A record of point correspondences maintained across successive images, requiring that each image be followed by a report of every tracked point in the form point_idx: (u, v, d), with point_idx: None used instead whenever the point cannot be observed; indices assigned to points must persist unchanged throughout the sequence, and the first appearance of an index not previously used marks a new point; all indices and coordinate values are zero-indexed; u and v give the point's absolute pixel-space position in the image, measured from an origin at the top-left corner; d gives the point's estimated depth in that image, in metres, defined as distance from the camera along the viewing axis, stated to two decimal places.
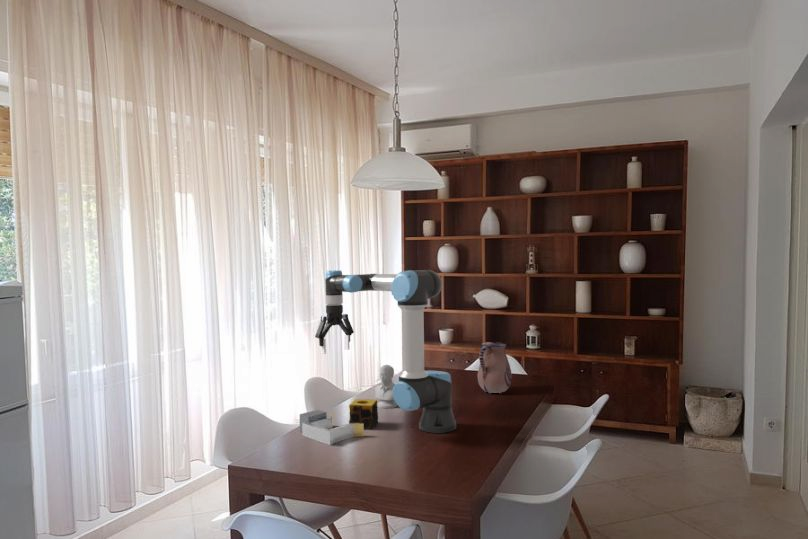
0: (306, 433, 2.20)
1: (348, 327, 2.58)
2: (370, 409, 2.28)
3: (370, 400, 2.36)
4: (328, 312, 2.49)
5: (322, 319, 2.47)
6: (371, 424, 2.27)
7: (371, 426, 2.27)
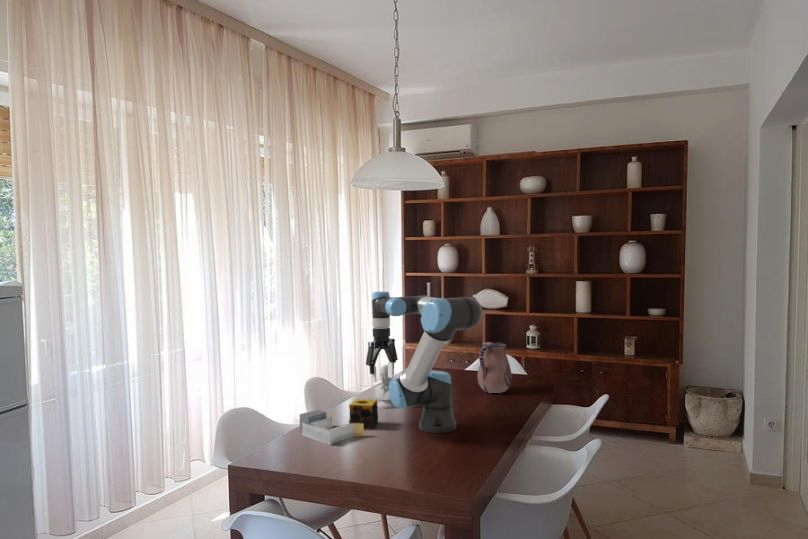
0: (306, 433, 2.20)
1: (393, 353, 2.45)
2: (370, 409, 2.28)
3: (370, 400, 2.36)
4: (375, 336, 2.37)
5: (370, 345, 2.35)
6: (371, 424, 2.27)
7: (371, 426, 2.27)
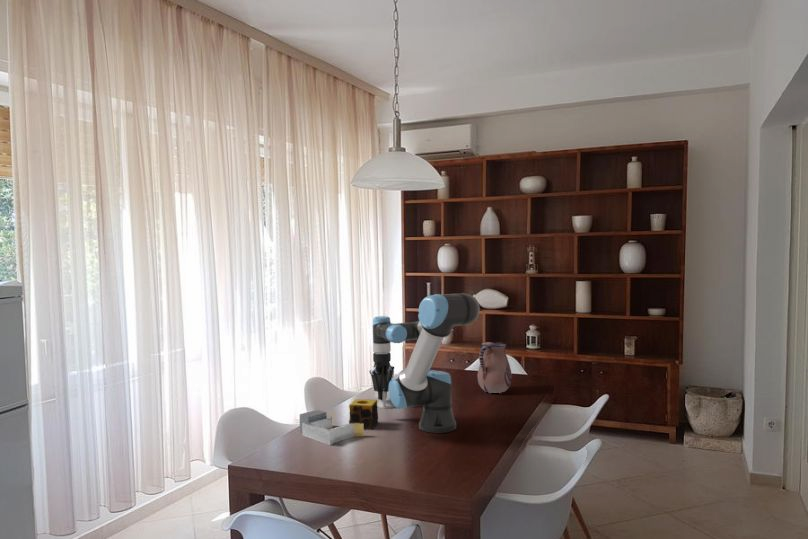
0: (306, 433, 2.20)
1: (387, 381, 2.43)
2: (370, 409, 2.28)
3: (370, 400, 2.36)
4: (376, 361, 2.38)
5: (372, 374, 2.36)
6: (371, 424, 2.27)
7: (371, 426, 2.27)
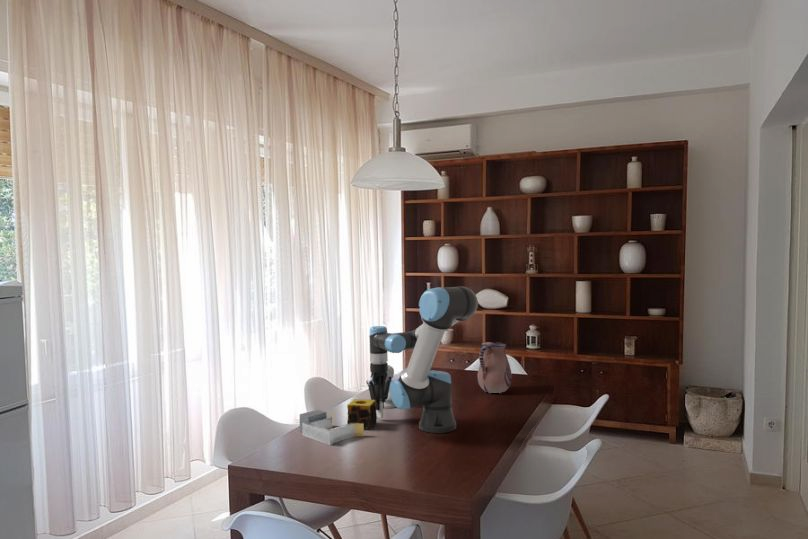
0: (306, 433, 2.20)
1: (385, 391, 2.42)
2: (368, 409, 2.27)
3: (369, 400, 2.35)
4: (373, 371, 2.36)
5: (369, 384, 2.35)
6: (369, 424, 2.27)
7: (369, 426, 2.27)
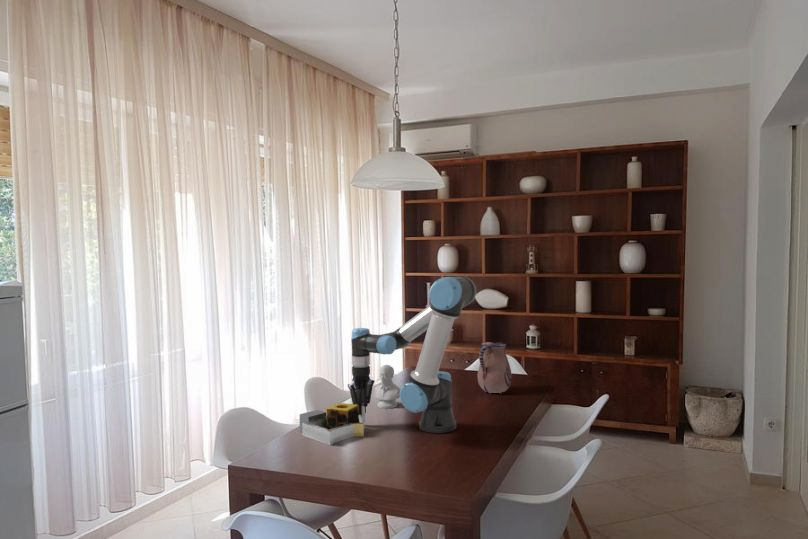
0: (306, 433, 2.20)
1: (367, 395, 2.34)
2: (346, 414, 2.20)
3: (351, 405, 2.28)
4: (354, 374, 2.29)
5: (350, 388, 2.28)
6: None
7: None
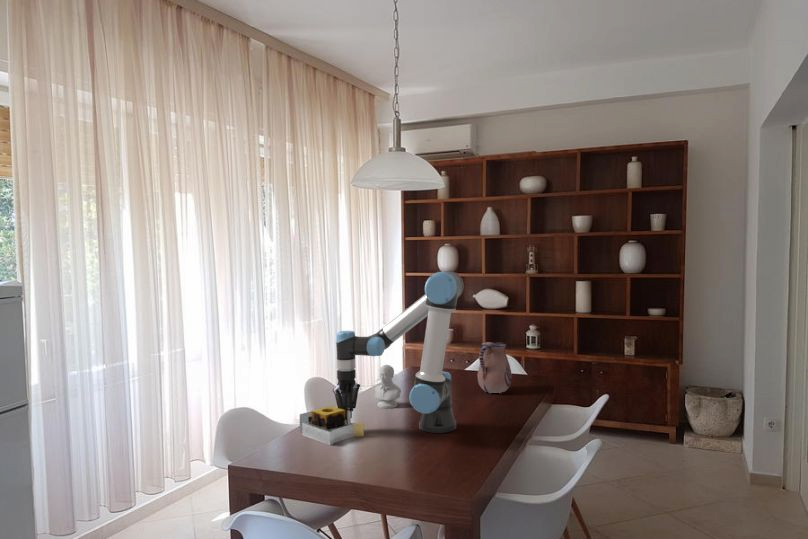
0: (306, 433, 2.20)
1: (353, 399, 2.28)
2: (325, 418, 2.15)
3: (337, 409, 2.22)
4: (339, 379, 2.23)
5: (335, 392, 2.22)
6: None
7: None
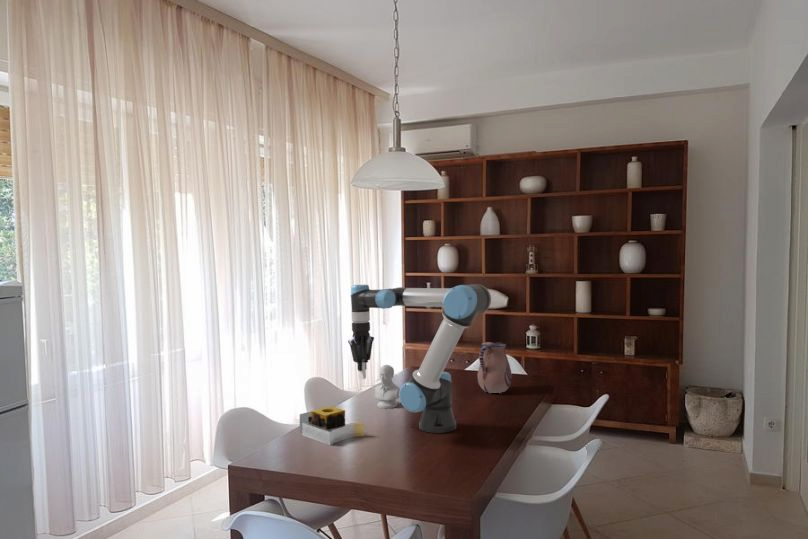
0: (306, 433, 2.20)
1: (367, 351, 2.35)
2: (325, 418, 2.15)
3: (337, 410, 2.22)
4: (355, 330, 2.29)
5: (351, 343, 2.28)
6: None
7: None
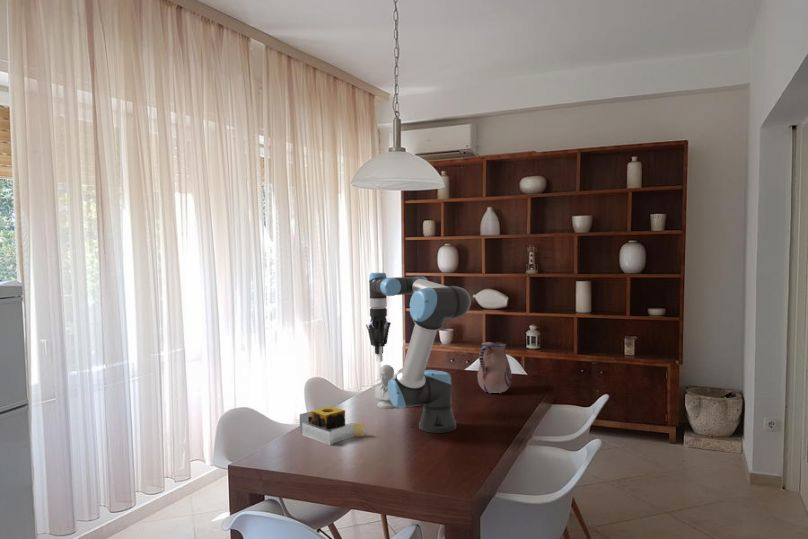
0: (306, 433, 2.20)
1: (384, 336, 2.48)
2: (325, 418, 2.15)
3: (337, 410, 2.22)
4: (372, 315, 2.43)
5: (369, 328, 2.42)
6: None
7: None
